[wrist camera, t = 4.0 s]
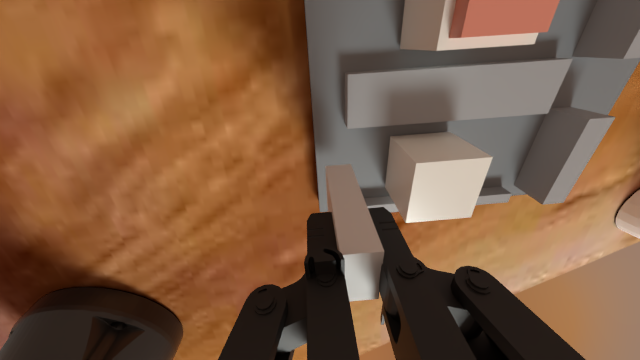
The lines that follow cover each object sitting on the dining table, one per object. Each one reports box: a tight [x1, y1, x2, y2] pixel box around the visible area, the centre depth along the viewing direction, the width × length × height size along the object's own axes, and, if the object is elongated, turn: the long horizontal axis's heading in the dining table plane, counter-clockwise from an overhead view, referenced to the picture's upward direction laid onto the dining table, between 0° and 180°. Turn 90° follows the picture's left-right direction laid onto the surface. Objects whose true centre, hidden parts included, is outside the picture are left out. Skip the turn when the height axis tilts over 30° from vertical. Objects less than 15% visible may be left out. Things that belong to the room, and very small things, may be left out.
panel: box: [304, 0, 640, 212], centre depth 14 cm, size 20×17×4 cm
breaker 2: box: [385, 132, 493, 223], centre depth 14 cm, size 4×4×4 cm
